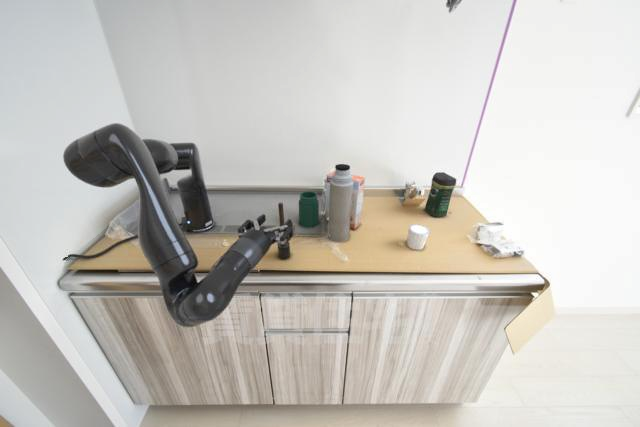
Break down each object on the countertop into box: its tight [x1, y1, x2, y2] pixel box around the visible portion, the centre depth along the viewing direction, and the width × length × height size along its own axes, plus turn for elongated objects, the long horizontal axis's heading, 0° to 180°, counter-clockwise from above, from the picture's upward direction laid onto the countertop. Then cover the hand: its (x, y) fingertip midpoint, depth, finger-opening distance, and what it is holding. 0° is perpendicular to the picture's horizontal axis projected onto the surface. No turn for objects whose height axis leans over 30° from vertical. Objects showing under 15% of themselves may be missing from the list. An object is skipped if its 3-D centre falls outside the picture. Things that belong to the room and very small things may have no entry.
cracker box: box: [325, 170, 366, 230], centre depth 97 cm, size 14×6×21 cm, turn 58°
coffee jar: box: [424, 171, 457, 218], centre depth 106 cm, size 10×8×19 cm
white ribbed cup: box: [406, 224, 430, 251], centre depth 87 cm, size 7×7×7 cm
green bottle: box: [298, 190, 320, 229], centre depth 98 cm, size 8×8×13 cm
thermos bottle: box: [327, 163, 354, 243], centre depth 86 cm, size 8×8×28 cm
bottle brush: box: [276, 202, 291, 261], centre depth 77 cm, size 4×4×20 cm
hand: (277, 219), depth 72 cm, fingers open, 8 cm apart
